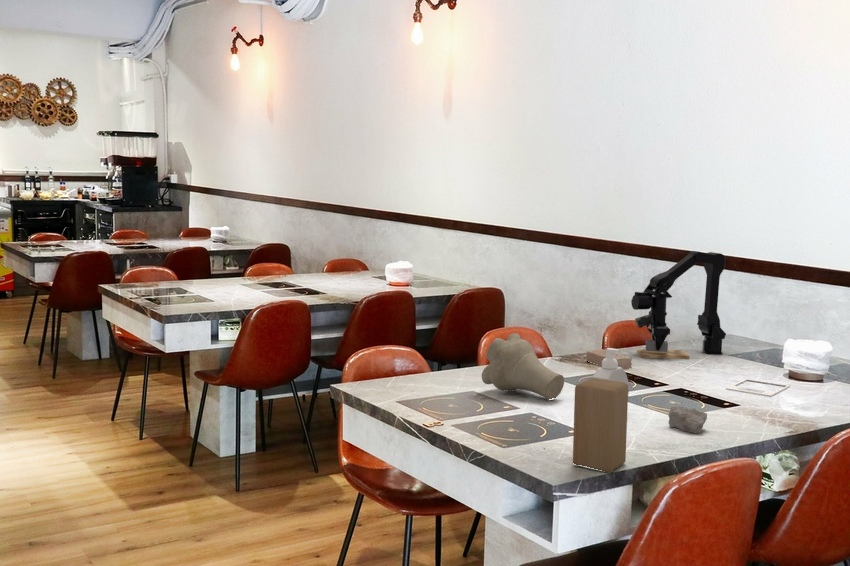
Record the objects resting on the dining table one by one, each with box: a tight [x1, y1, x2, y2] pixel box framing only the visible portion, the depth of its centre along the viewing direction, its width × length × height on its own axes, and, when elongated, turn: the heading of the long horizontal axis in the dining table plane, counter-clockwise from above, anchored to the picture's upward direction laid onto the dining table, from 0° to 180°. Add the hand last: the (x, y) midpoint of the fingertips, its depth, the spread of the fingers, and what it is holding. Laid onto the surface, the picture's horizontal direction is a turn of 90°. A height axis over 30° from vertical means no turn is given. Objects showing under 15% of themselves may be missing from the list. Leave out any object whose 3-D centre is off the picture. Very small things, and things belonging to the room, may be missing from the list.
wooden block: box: [572, 377, 629, 473], centre depth 211 cm, size 10×10×20 cm
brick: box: [585, 348, 633, 370], centre depth 327 cm, size 17×8×5 cm, turn 31°
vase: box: [481, 332, 565, 401], centre depth 277 cm, size 22×22×28 cm
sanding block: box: [645, 339, 669, 354], centre depth 345 cm, size 8×5×4 cm, turn 79°
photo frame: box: [725, 378, 791, 398], centre depth 293 cm, size 15×1×18 cm
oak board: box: [636, 348, 690, 360], centre depth 345 cm, size 18×11×1 cm, turn 86°
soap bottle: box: [591, 347, 630, 395], centre depth 255 cm, size 16×5×20 cm, turn 142°
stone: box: [668, 406, 708, 434], centre depth 244 cm, size 10×8×6 cm
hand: (656, 348), depth 345 cm, fingers closed on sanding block, 5 cm apart
